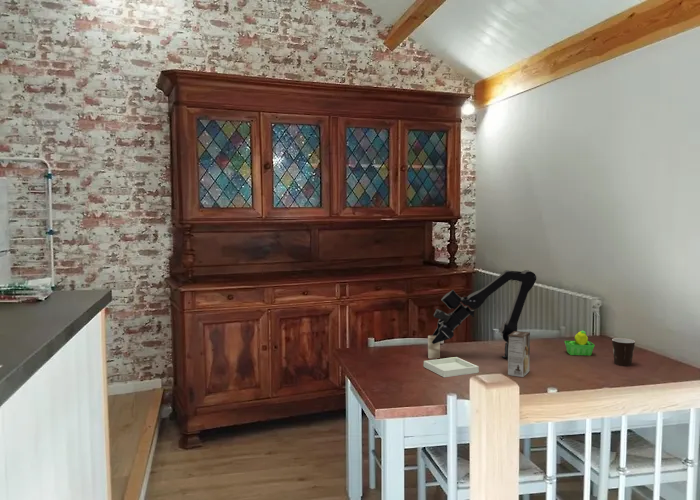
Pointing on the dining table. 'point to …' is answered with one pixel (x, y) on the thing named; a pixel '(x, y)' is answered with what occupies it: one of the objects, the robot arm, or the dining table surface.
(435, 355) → the birch block
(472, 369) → the tray
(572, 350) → the fruit basket
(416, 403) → the dining table surface
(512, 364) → the coffee box
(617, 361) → the coffee mug
